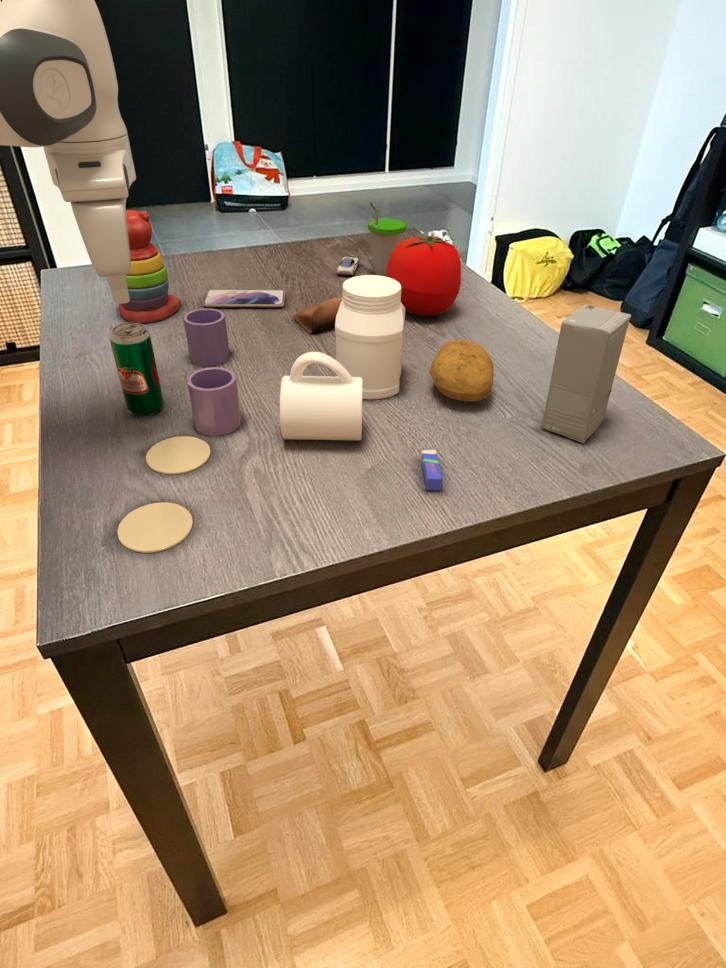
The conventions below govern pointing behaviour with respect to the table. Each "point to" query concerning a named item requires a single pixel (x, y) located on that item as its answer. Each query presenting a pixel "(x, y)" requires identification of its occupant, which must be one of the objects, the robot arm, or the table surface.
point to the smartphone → (245, 298)
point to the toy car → (348, 266)
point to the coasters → (164, 520)
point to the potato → (463, 371)
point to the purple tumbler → (214, 401)
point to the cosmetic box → (584, 371)
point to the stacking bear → (146, 275)
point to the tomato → (426, 274)
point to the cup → (384, 240)
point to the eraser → (431, 470)
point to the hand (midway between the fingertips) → (120, 287)
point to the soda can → (137, 368)
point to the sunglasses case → (319, 315)
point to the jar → (371, 333)
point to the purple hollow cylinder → (207, 336)
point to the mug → (320, 402)
